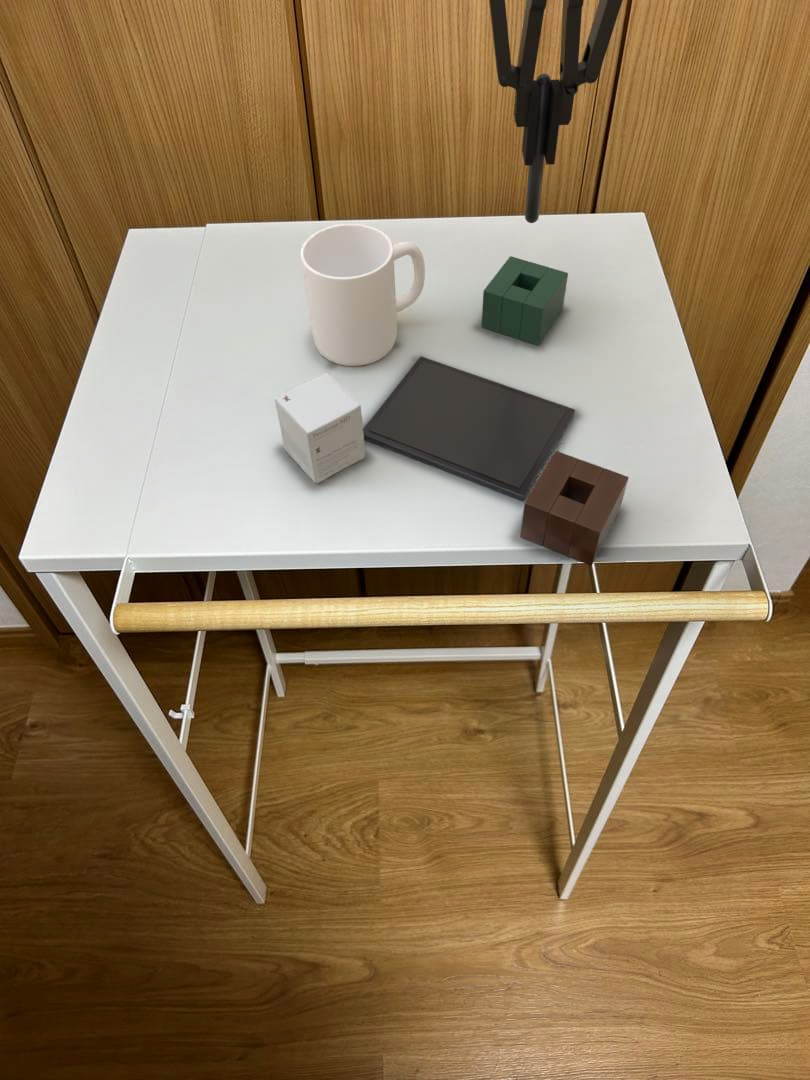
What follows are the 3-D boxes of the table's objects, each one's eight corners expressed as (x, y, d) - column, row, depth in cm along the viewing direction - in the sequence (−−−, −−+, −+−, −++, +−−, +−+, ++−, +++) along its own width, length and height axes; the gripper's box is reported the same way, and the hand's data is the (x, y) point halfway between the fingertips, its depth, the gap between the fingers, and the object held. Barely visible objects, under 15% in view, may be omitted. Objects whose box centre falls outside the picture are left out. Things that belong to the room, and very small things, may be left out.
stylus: (540, 220, 85) (554, 72, 75) (534, 226, 84) (548, 77, 74) (527, 217, 86) (539, 70, 75) (522, 223, 85) (533, 75, 74)
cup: (300, 330, 95) (285, 240, 85) (405, 291, 98) (402, 201, 89) (336, 379, 90) (324, 290, 80) (445, 336, 93) (446, 246, 84)
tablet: (574, 414, 86) (575, 408, 85) (522, 501, 79) (523, 495, 78) (420, 360, 91) (420, 355, 90) (360, 437, 85) (359, 432, 84)
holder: (619, 511, 78) (629, 476, 74) (591, 566, 74) (600, 532, 70) (549, 485, 80) (555, 450, 76) (519, 537, 76) (524, 502, 72)
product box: (315, 486, 81) (306, 434, 75) (283, 449, 84) (271, 396, 78) (367, 457, 83) (362, 404, 77) (334, 423, 86) (326, 369, 80)
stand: (562, 309, 96) (568, 272, 91) (538, 346, 92) (543, 309, 88) (507, 292, 98) (510, 255, 94) (481, 327, 94) (483, 290, 90)
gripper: (659, -175, 63) (607, 134, 82) (467, -167, 63) (460, 139, 82) (680, -143, 58) (620, 175, 77) (474, -134, 58) (465, 181, 77)
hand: (538, 156), depth 79 cm, fingers closed on stylus
